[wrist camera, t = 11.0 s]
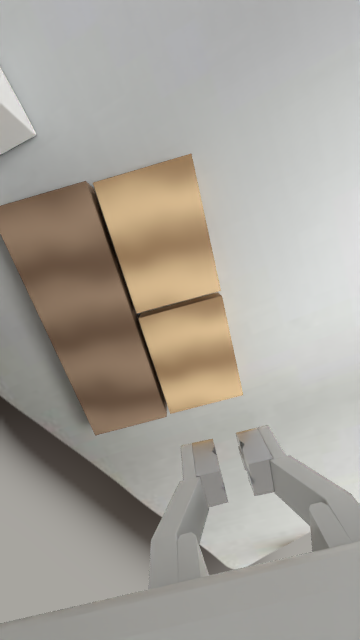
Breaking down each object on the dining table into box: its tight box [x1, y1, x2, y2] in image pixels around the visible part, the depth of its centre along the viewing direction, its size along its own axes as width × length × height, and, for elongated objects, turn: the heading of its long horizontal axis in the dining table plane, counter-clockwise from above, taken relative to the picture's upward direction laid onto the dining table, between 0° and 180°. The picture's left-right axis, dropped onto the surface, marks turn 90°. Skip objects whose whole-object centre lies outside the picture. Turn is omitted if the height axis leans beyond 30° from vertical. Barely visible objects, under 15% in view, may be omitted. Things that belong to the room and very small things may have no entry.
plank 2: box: [138, 292, 243, 414], centre depth 23 cm, size 11×8×2 cm
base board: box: [0, 181, 167, 435], centre depth 22 cm, size 23×8×2 cm, turn 15°
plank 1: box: [93, 154, 221, 313], centre depth 20 cm, size 11×8×2 cm
